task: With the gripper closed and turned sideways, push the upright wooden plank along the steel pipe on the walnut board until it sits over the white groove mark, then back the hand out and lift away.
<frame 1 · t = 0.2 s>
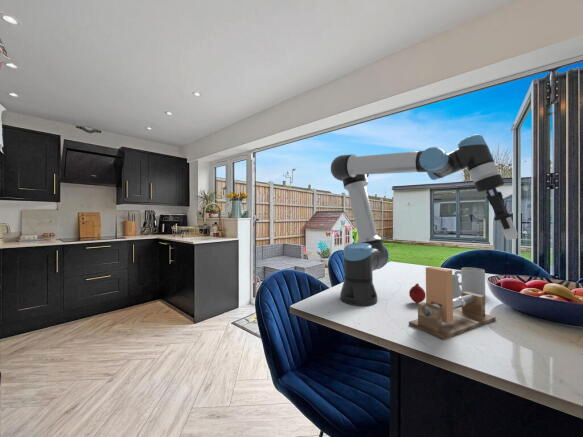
hand: (512, 237, 80), 27 cm above the kitchen island, tool tilted 20°, fingers open, 13 cm apart
upright wooden plank: (438, 293, 77), point 11 cm above the kitchen island, slide at 0.0 cm
rig board: (452, 322, 80), on the kitchen island
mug: (468, 293, 110), on the kitchen island
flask: (454, 299, 102), on the kitchen island
onion: (417, 303, 98), on the kitchen island
pipe: (452, 304, 80), point 6 cm above the kitchen island
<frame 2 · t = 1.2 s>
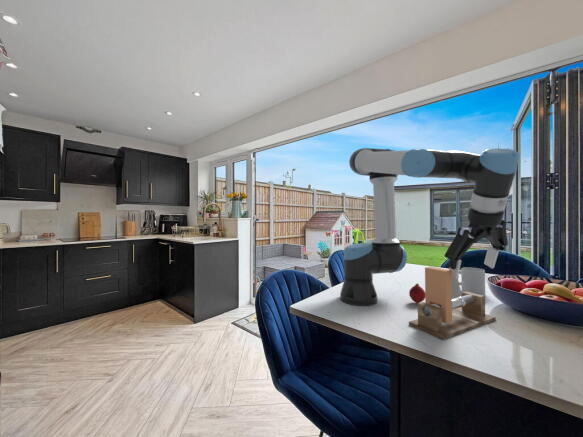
hand: (471, 270, 76), 18 cm above the kitchen island, tool tilted 25°, fingers open, 13 cm apart
upright wooden plank: (438, 293, 77), point 11 cm above the kitchen island, slide at -0.4 cm, touching gripper
everything else where it was.
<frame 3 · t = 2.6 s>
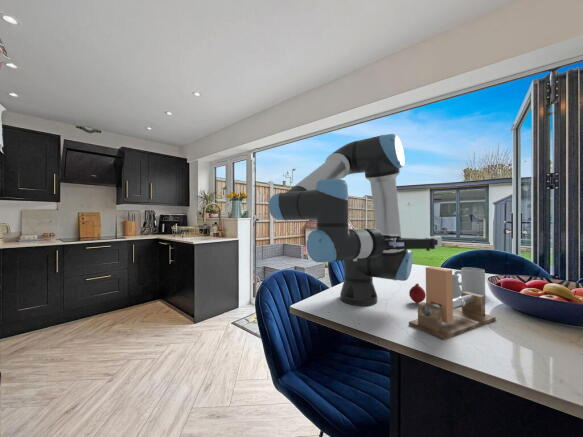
hand: (417, 239, 72), 28 cm above the kitchen island, tool horizontal, fingers open, 13 cm apart
upright wooden plank: (438, 293, 77), point 11 cm above the kitchen island, slide at 0.0 cm
everything else where it was.
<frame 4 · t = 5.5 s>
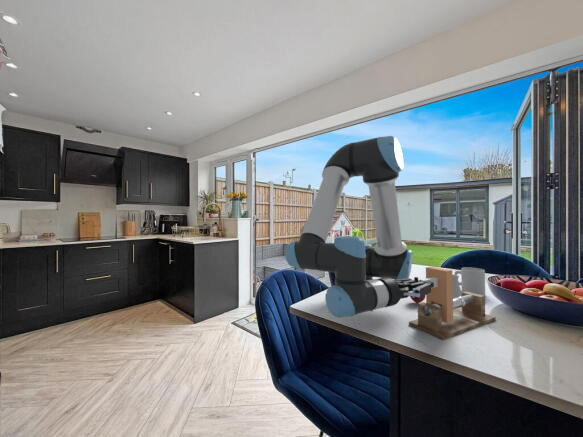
hand: (435, 281, 76), 14 cm above the kitchen island, tool horizontal, fingers closed
upright wooden plank: (439, 293, 77), point 11 cm above the kitchen island, slide at 0.1 cm, touching gripper
everything else where it was.
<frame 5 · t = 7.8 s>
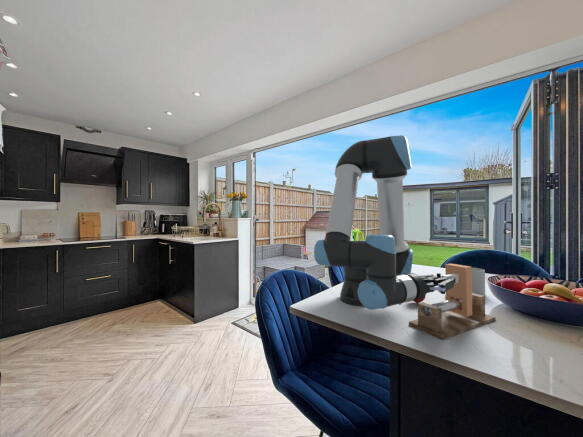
hand: (456, 277, 80), 14 cm above the kitchen island, tool horizontal, fingers closed
upright wooden plank: (458, 288, 81), point 11 cm above the kitchen island, slide at 10.3 cm, touching gripper
everything else where it was.
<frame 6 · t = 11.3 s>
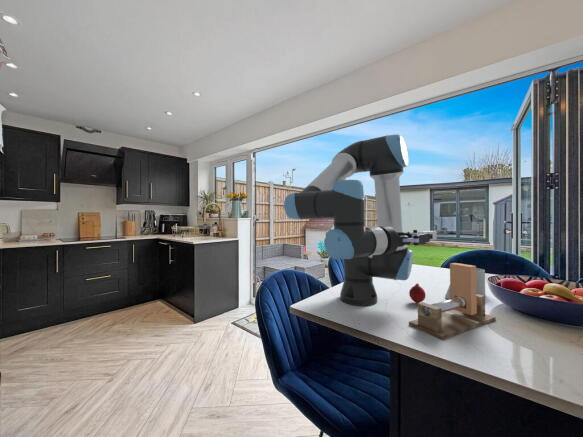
hand: (434, 235, 76), 29 cm above the kitchen island, tool horizontal, fingers closed
upright wooden plank: (462, 287, 82), point 11 cm above the kitchen island, slide at 12.8 cm
everything else where it was.
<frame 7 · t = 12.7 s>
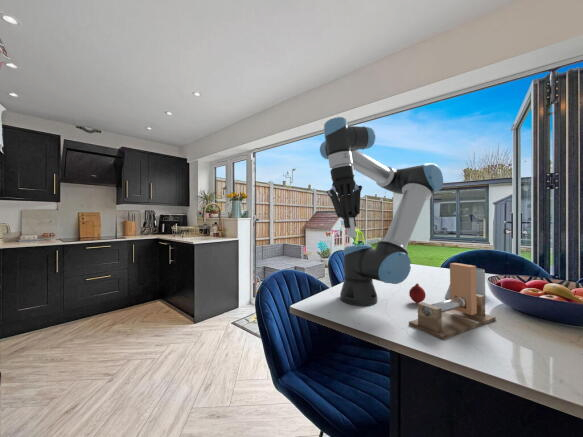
hand: (351, 237, 82), 28 cm above the kitchen island, tool pointing down, fingers closed
nothing on the kitchen island moved.
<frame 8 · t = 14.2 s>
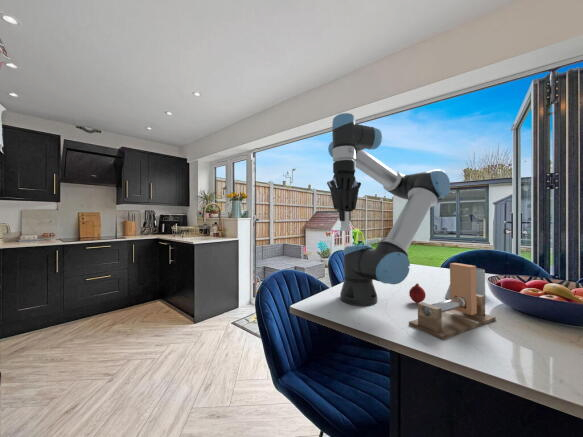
hand: (345, 230, 83), 30 cm above the kitchen island, tool pointing down, fingers closed
nothing on the kitchen island moved.
at the end: upright wooden plank slide at 12.8 cm; onion moved 0.2 cm from its start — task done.
